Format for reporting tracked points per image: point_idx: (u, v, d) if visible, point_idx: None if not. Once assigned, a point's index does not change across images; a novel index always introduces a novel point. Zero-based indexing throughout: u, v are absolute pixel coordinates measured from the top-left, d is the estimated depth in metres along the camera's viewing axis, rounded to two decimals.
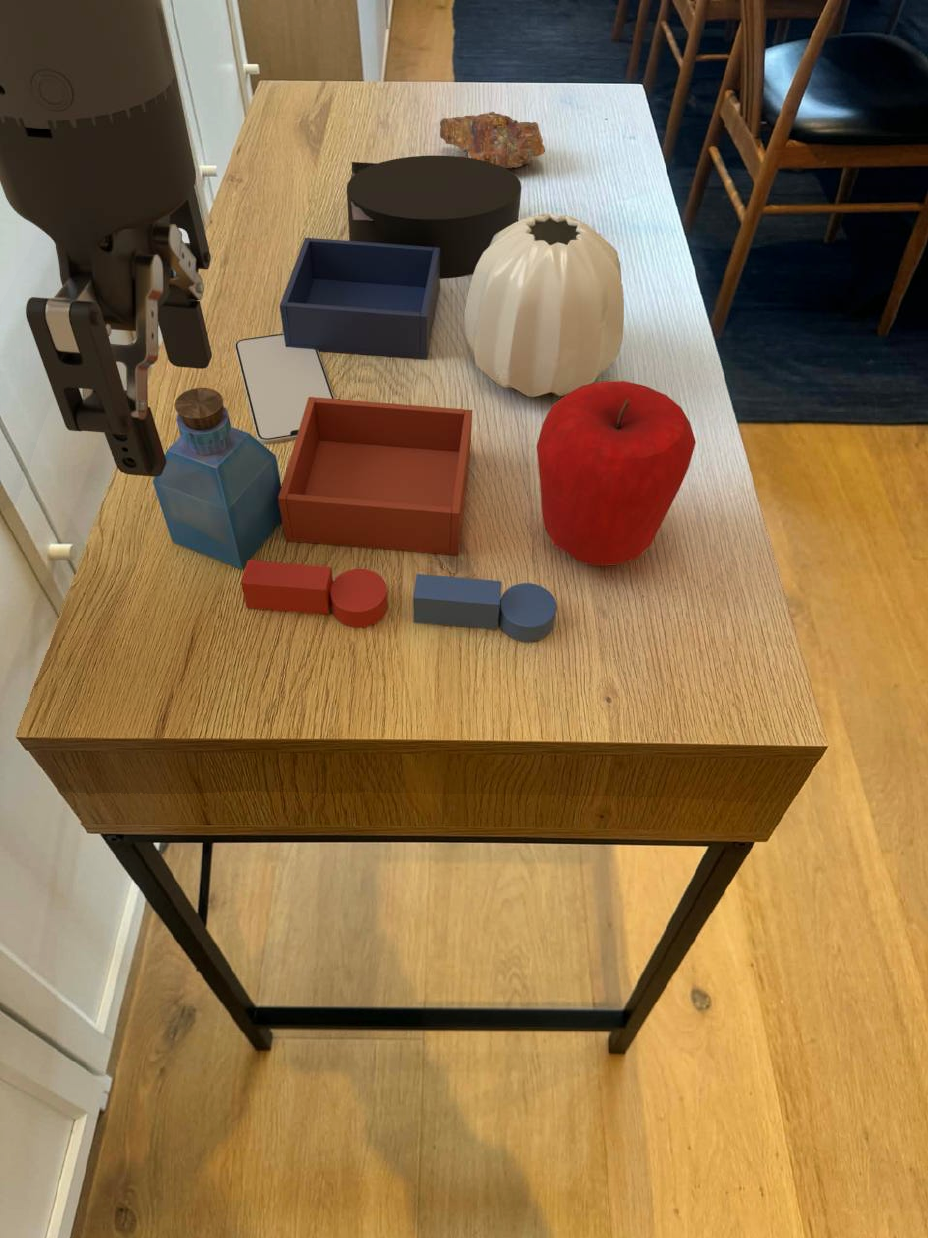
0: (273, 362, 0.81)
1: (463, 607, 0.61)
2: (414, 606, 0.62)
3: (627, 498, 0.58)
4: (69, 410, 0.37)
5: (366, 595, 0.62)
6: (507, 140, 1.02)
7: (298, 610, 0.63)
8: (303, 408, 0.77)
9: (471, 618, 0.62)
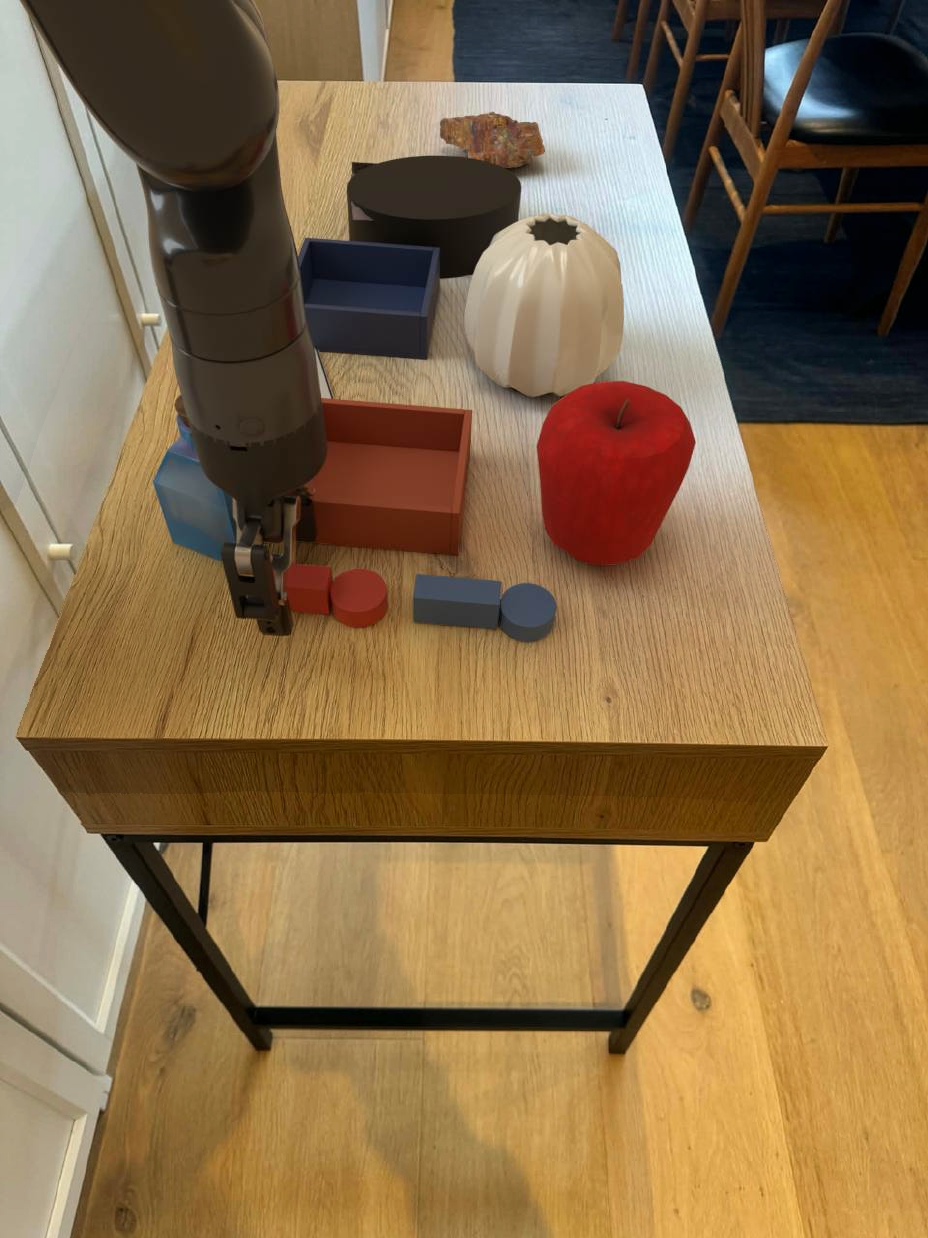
0: None
1: (463, 607, 0.61)
2: (414, 606, 0.62)
3: (627, 498, 0.58)
4: (240, 607, 0.53)
5: (366, 595, 0.62)
6: (507, 140, 1.02)
7: (298, 610, 0.63)
8: None
9: (471, 618, 0.62)
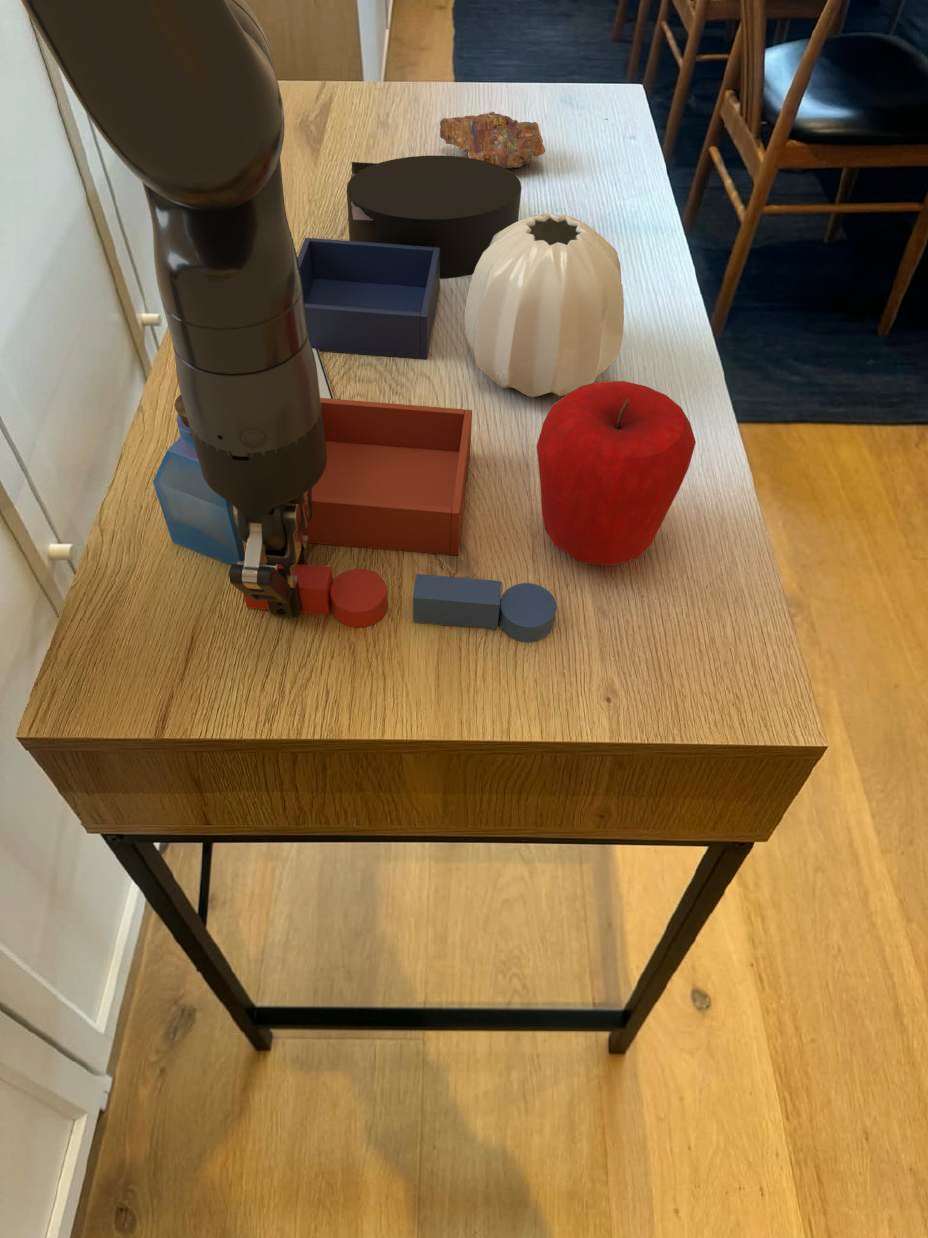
0: None
1: (463, 607, 0.61)
2: (414, 606, 0.62)
3: (627, 498, 0.58)
4: (254, 597, 0.57)
5: (366, 595, 0.62)
6: (507, 140, 1.02)
7: None
8: None
9: (471, 618, 0.62)
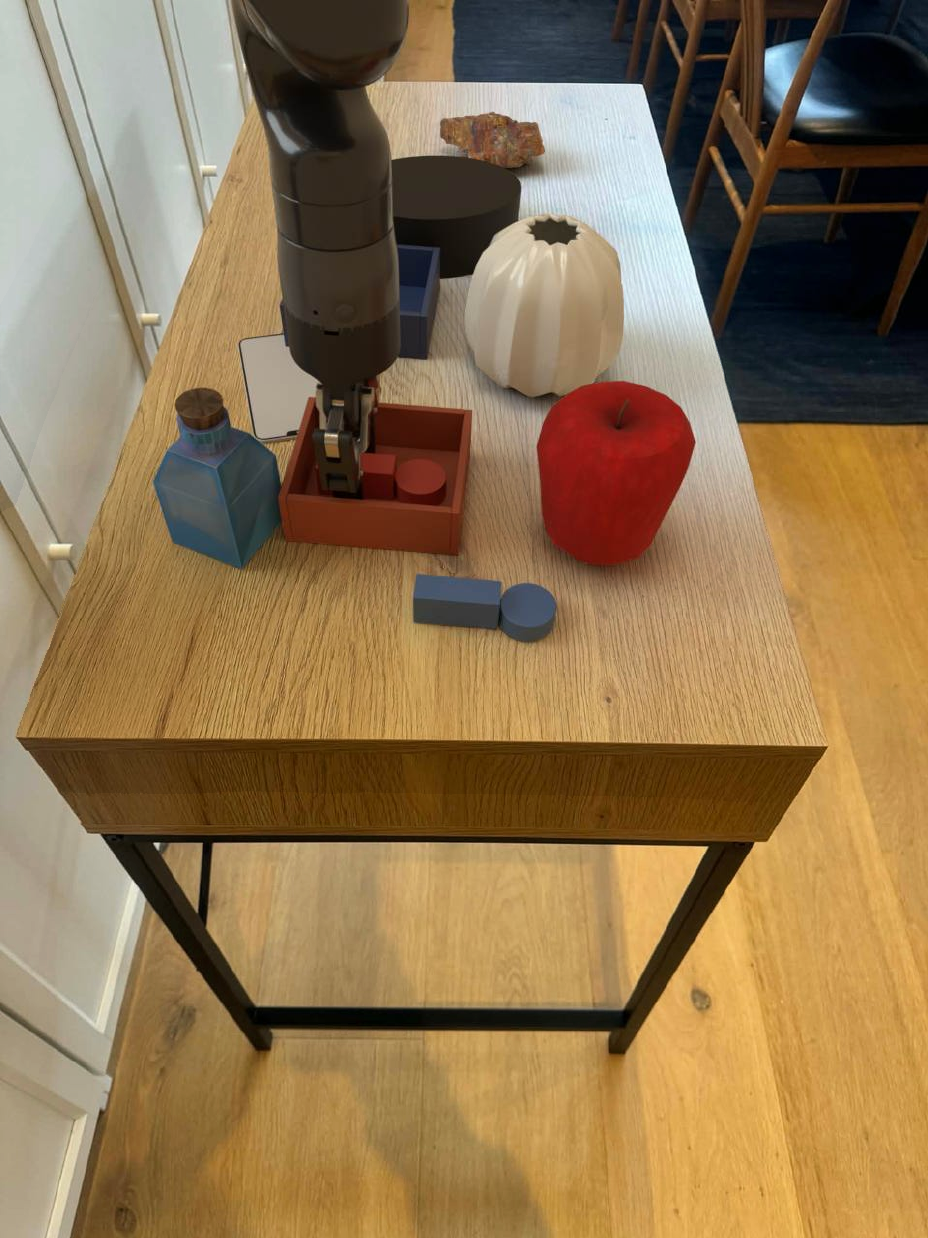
0: (274, 362, 0.81)
1: (463, 607, 0.61)
2: (414, 606, 0.62)
3: (627, 498, 0.58)
4: (326, 482, 0.62)
5: (427, 480, 0.69)
6: (507, 140, 1.02)
7: (365, 495, 0.70)
8: (301, 409, 0.77)
9: (471, 618, 0.62)
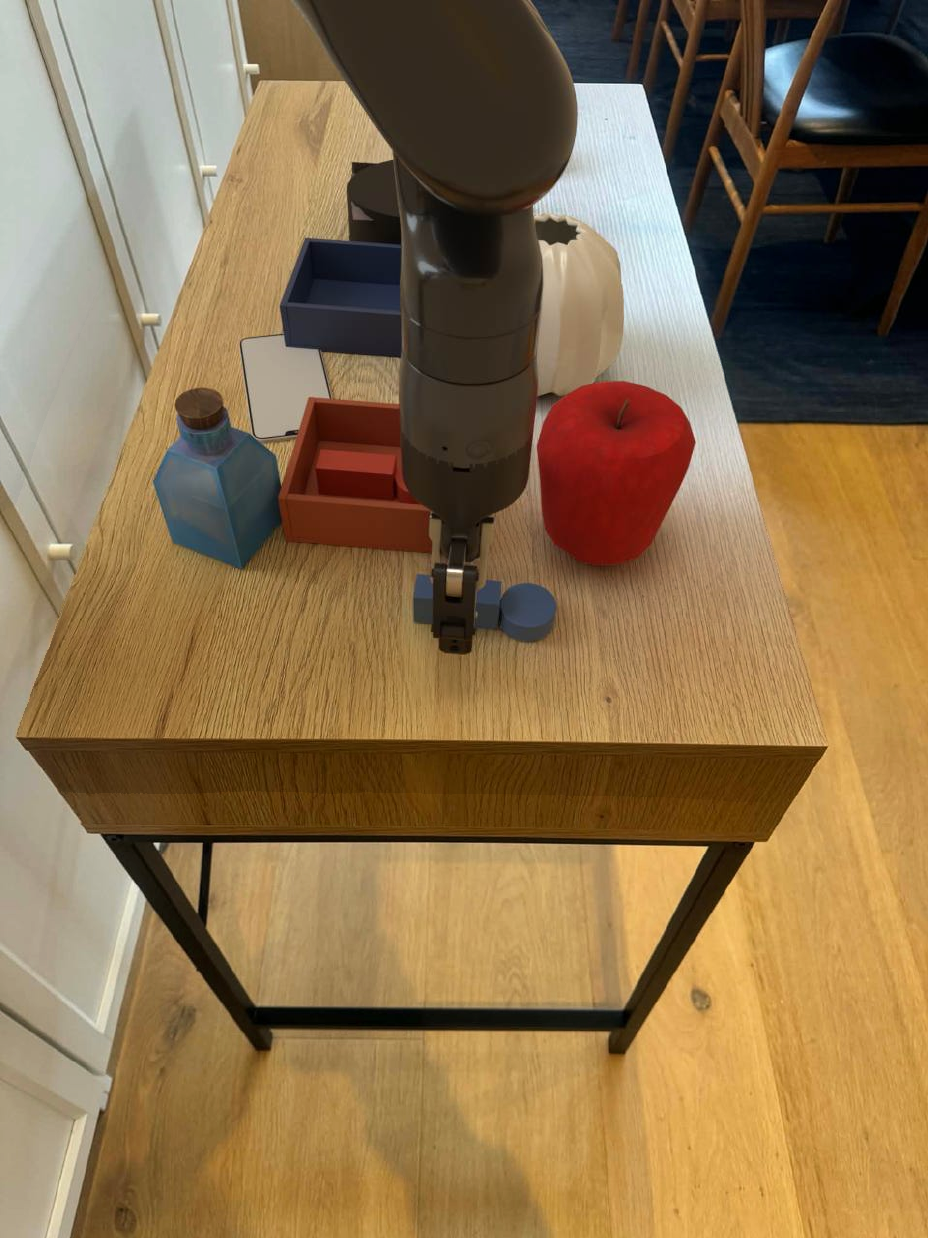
0: (275, 361, 0.81)
1: None
2: (414, 606, 0.62)
3: (627, 498, 0.58)
4: (440, 627, 0.53)
5: None
6: None
7: (365, 495, 0.70)
8: (300, 409, 0.77)
9: None
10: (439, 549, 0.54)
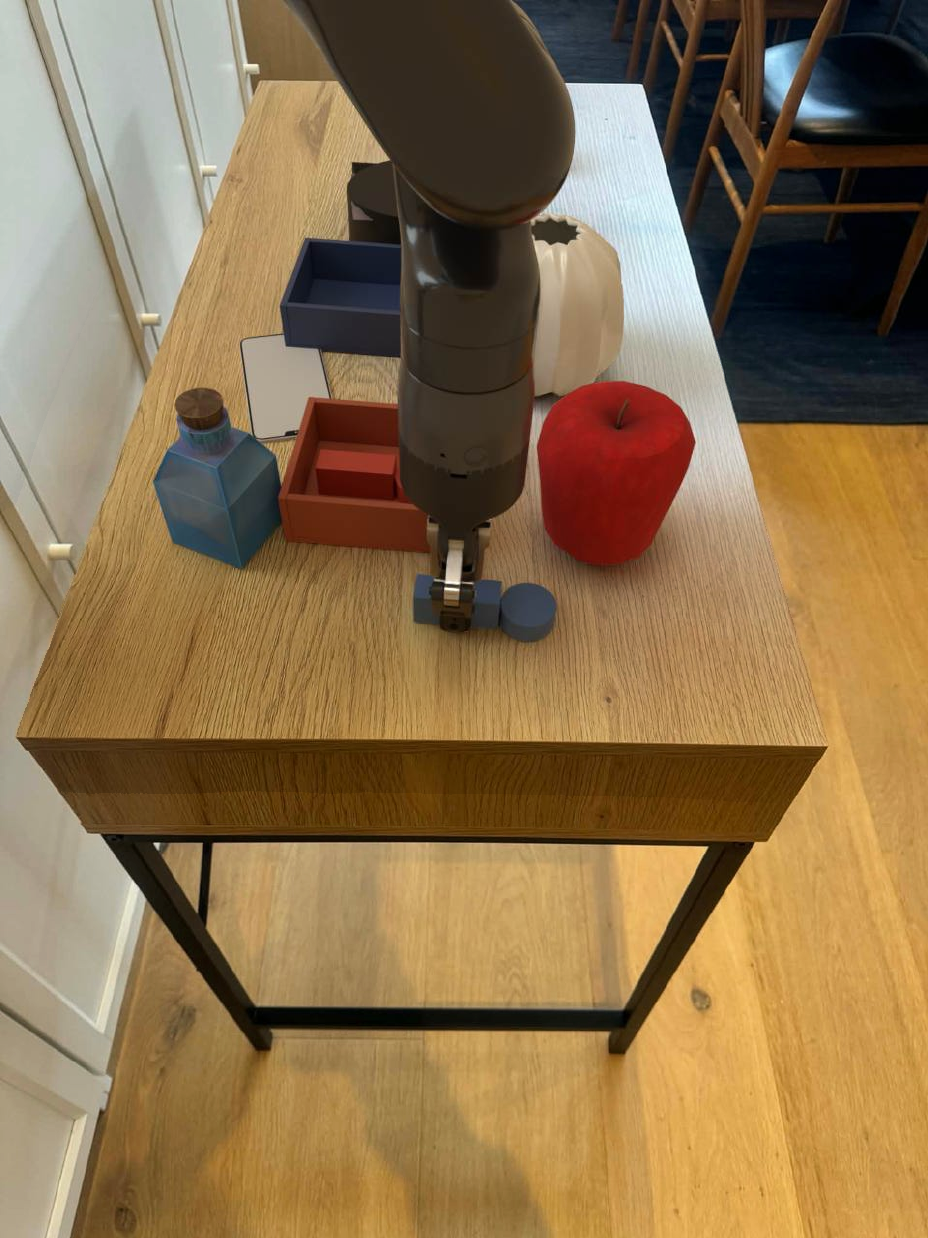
0: (275, 361, 0.81)
1: None
2: (414, 606, 0.62)
3: (627, 498, 0.58)
4: (440, 613, 0.57)
5: None
6: None
7: (365, 495, 0.70)
8: (300, 409, 0.77)
9: None
10: (437, 551, 0.56)
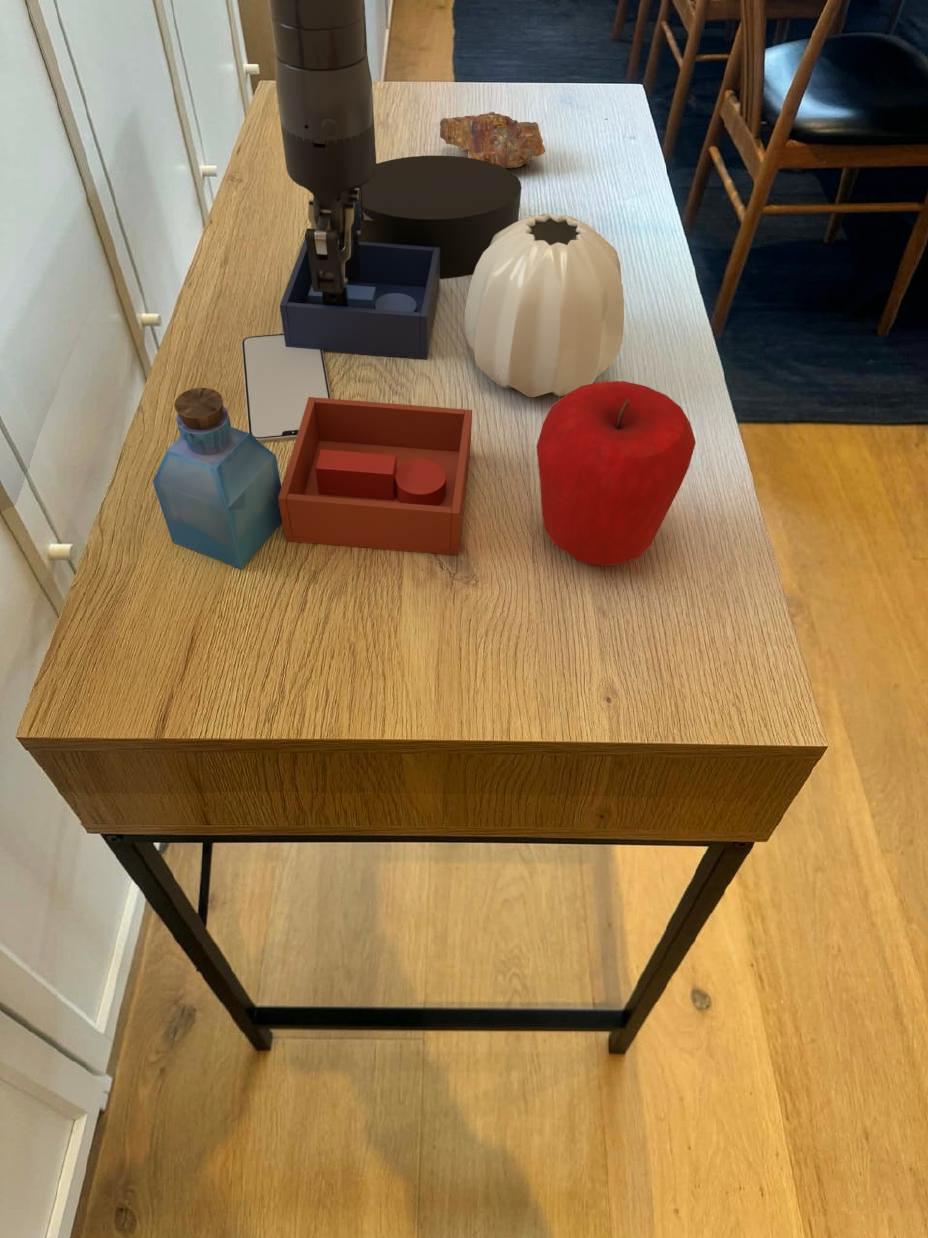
0: (276, 361, 0.81)
1: None
2: None
3: (627, 498, 0.58)
4: (317, 281, 0.76)
5: (427, 480, 0.69)
6: (507, 140, 1.02)
7: (365, 495, 0.70)
8: (299, 409, 0.77)
9: None
10: None
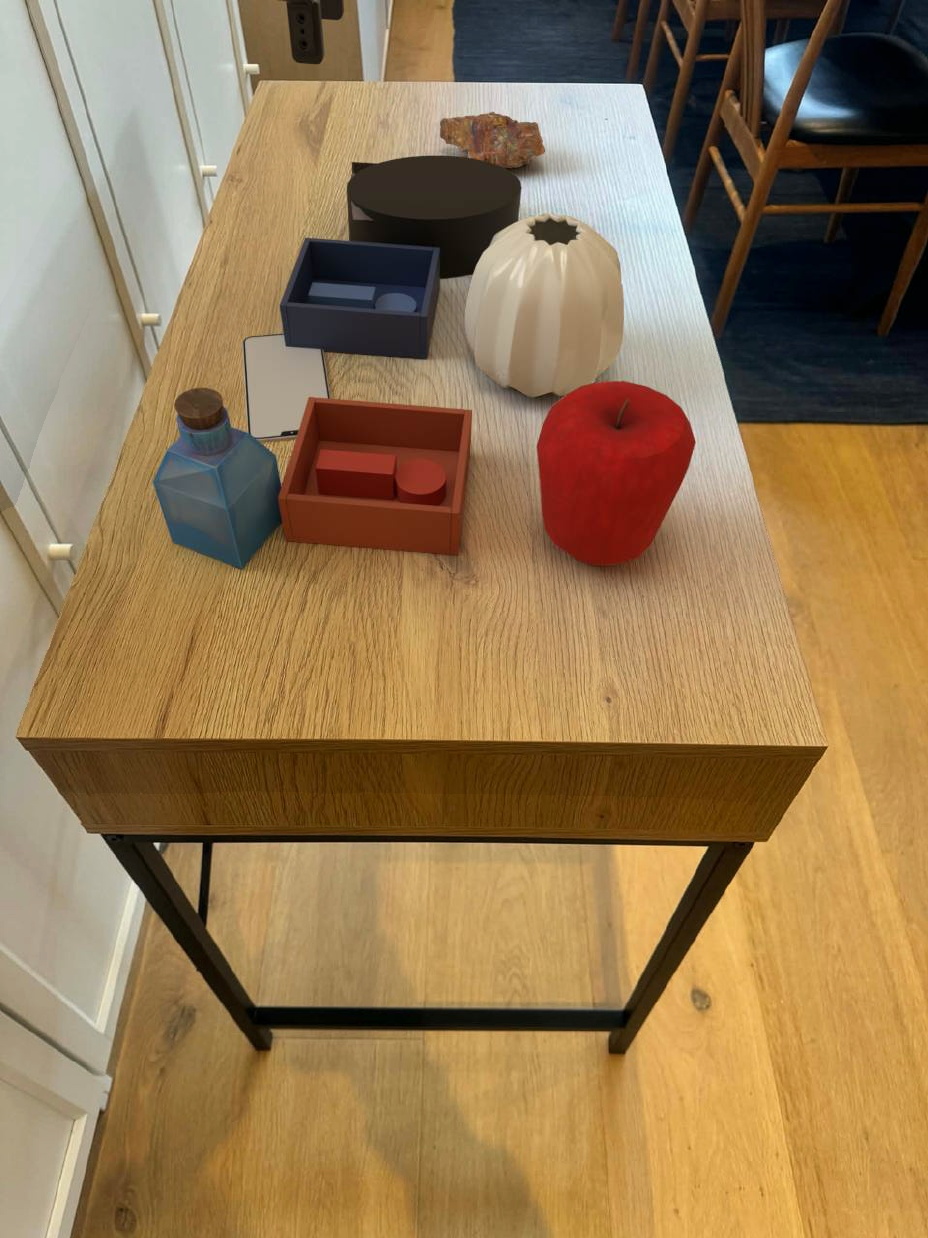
0: (277, 361, 0.81)
1: (345, 304, 0.83)
2: None
3: (627, 498, 0.58)
4: None
5: (427, 480, 0.69)
6: (507, 140, 1.02)
7: (365, 495, 0.70)
8: (298, 409, 0.77)
9: None
10: None
